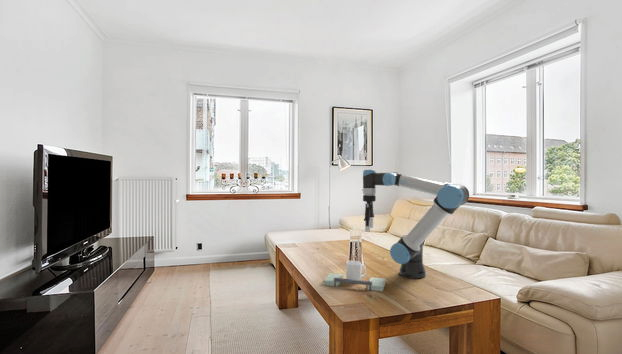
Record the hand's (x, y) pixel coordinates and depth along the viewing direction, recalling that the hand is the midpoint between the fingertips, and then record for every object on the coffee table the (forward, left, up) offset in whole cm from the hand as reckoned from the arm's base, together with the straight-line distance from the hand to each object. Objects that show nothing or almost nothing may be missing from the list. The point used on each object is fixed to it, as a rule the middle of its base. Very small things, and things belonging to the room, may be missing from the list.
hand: (369, 229), depth 197 cm
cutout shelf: (+5, +21, -27) cm, 34 cm away
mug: (+5, +16, -27) cm, 32 cm away
